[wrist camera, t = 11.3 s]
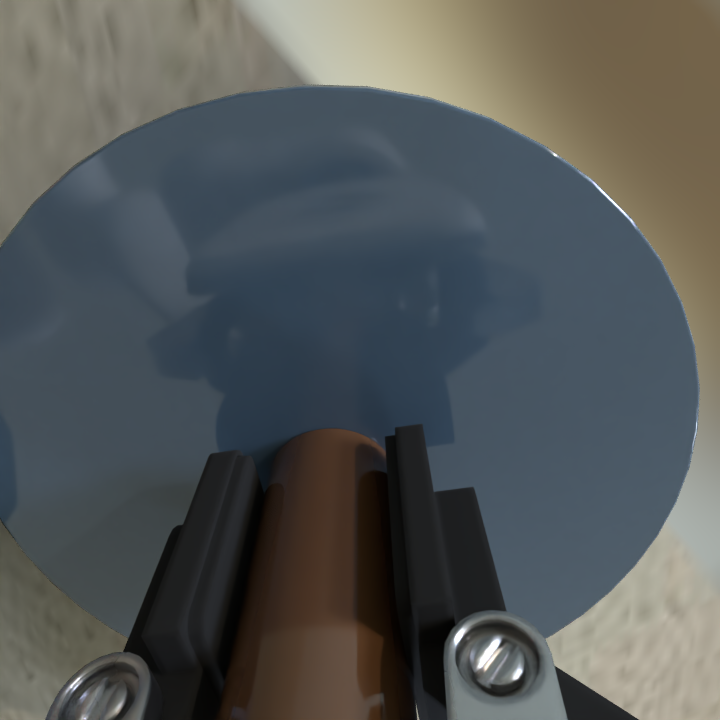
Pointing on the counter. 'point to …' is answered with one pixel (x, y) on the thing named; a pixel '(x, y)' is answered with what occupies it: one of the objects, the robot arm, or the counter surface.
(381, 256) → the lid
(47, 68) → the counter surface
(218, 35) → the counter surface
